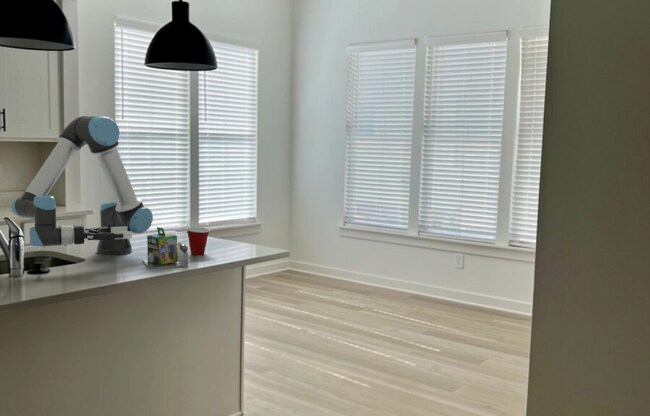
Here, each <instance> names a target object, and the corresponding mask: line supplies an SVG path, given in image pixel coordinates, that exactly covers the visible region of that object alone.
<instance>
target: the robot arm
mask: <svg viewBox="0 0 650 416" xmlns="http://www.w3.org/2000/svg"><path fill="white" fill-rule="evenodd" d="M120 135H121V134H120V128H119V126H118V124H117V122H115V121H114V119H112V118H110V117H107V116H104V115H103V116H102V115H96V116H87V115H85V116H83V115H82V116H78V117H76V118H74V119H73V120H72V121H71V122H69V123H68V124H67V125H66V127H64V129H63V130H62V131H61V133H60V135H59V136H58V137H57V143H56V145H55V147H54V148H53V150H52V151H51V152H50V154H49V156H48V157H47V158H46V160H45V162H44V163H43V164H42V166H41V167H40V169H39V170H38V171H37V173H36V175H35V176H34V178H33V179H32V181H31V183H29V185H28V187H27V188H26V189H25V191H24V193H22V196H21V197H17V198H14V200H12V202H11V205H10V209H11V212H12V213H13V214H14V215H15V216H18V217H20V218H29V219H33V220H34V226H32V227H31V226H30V227H29V244H30V246H32V247H43V248H44V247H52V246H54V247H55V246H64V247H67V246H69V245H73V244H74V245H84V244H85V240H87V241H98V244H97V247H96V253H97V254H99V255H104V256H105V255H106V256H107V255H108V256H111V255H113V256H117V255H126V254H130V253H132V252H133V247H132V243H131V241H130V239H133V234H143V233H145V232H147V231H148V230H149V229H150V228H151V226H152V223H153V220H154V219H153V218H154V217H153V212H152V211H151V209H149V208H148V207H146V206H145V205H144V203H143V201H142V199H141V198H139V197H137V196H136V193H135V190H134V188H133V185H132V183H131V180H130V178H129V176H128V173H127V170H126V168H125V166H124V163H123V161H122V157H121V155H120V153H119V150H118V147H119V144H120V143H119V139H120ZM86 145H87V146H88V148H89V150H90V153H91V154H92V155H95V156H96V157H97V159H98V162H99V164H100V166H101V170H102V172H103V174H104V176H105V178H106V180H107V181H106V182H107V184H108V186H109V189H110V191H111V193H112V196H113V198H114V200H115V201H111V202H103V203H102V204H101V205H100V210H99V213H100V215H99V216H100V226H99V227H91V228H89V227H87V228H85V227H84V225H83V224H77V225H73V226H72V225H69V224H68V225H57V212H56V211H57V204H56V198H55V196H53V195H49V193H50V191H51V190H52V188H53V187H54V185H55V184H56V182H57V181H58V179H60V177H61V174H62V173H63V171H64V170H65V168H66V167H67V166H68V164H69V162H70V161H71V159H72V158H73V156H74V155H75V153H79V152H80V151H81V149H82V148H83V147H84V146H86Z"/></svg>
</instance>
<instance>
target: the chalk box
mask: <svg viewBox="0 0 650 416" xmlns="http://www.w3.org/2000/svg"><path fill="white" fill-rule="evenodd" d="M156 230H157V233H155V234H149V235H146V238H147V241H146V242H147V259H148V262H151V263H154V264H157V265H163V264H168V263H174V262H178V259H177V247H178V246H177V244H178V235H176V234H171V233H165V229H164V228H163V227H159V226H157V227H156Z"/></svg>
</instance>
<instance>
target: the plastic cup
mask: <svg viewBox="0 0 650 416" xmlns="http://www.w3.org/2000/svg"><path fill="white" fill-rule="evenodd" d="M185 228H186V231H187V238H188V244H189V249H190V255H192V256H204V254H205V251H206V247H207V241H208V237H209V233H210V232H211V229H210V228H206V227H200V226H191V227H190V226H188V227H185Z"/></svg>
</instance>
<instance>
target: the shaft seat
mask: <svg viewBox="0 0 650 416" xmlns="http://www.w3.org/2000/svg"><path fill="white" fill-rule="evenodd" d="M188 250H189V247H188V246H187V245H185V244H184V243H183V242H180V241H179V242H177V259H178V262H174V263H168V264H163V265H157V264H154V263H151V262H148V258H147V259H142V262H143V264H144V265H145V267H146V268H147V269H148V270H157V269H159V270H160V269H175V268H189V252H188Z"/></svg>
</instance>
